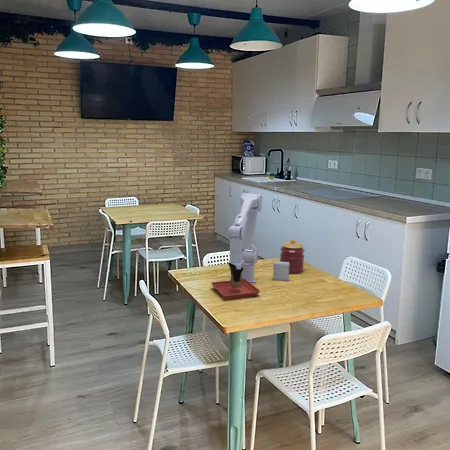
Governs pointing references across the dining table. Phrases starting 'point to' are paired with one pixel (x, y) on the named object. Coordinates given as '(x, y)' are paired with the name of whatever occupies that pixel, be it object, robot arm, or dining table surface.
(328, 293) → the dining table surface
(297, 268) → the canister
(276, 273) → the medicine box
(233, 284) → the walnut block
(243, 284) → the plant saucer
